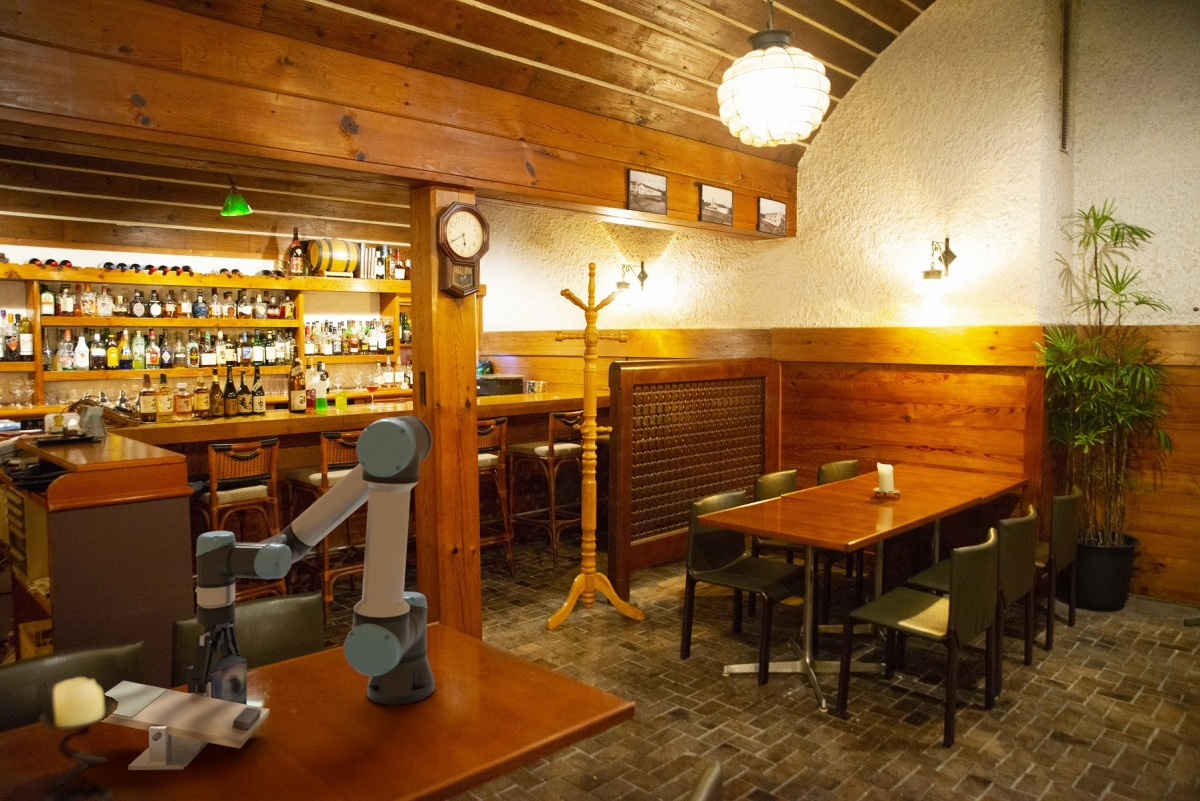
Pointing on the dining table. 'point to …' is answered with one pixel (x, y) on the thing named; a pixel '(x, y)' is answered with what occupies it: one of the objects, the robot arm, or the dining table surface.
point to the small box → (226, 679)
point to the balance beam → (185, 714)
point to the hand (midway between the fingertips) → (216, 701)
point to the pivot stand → (167, 750)
